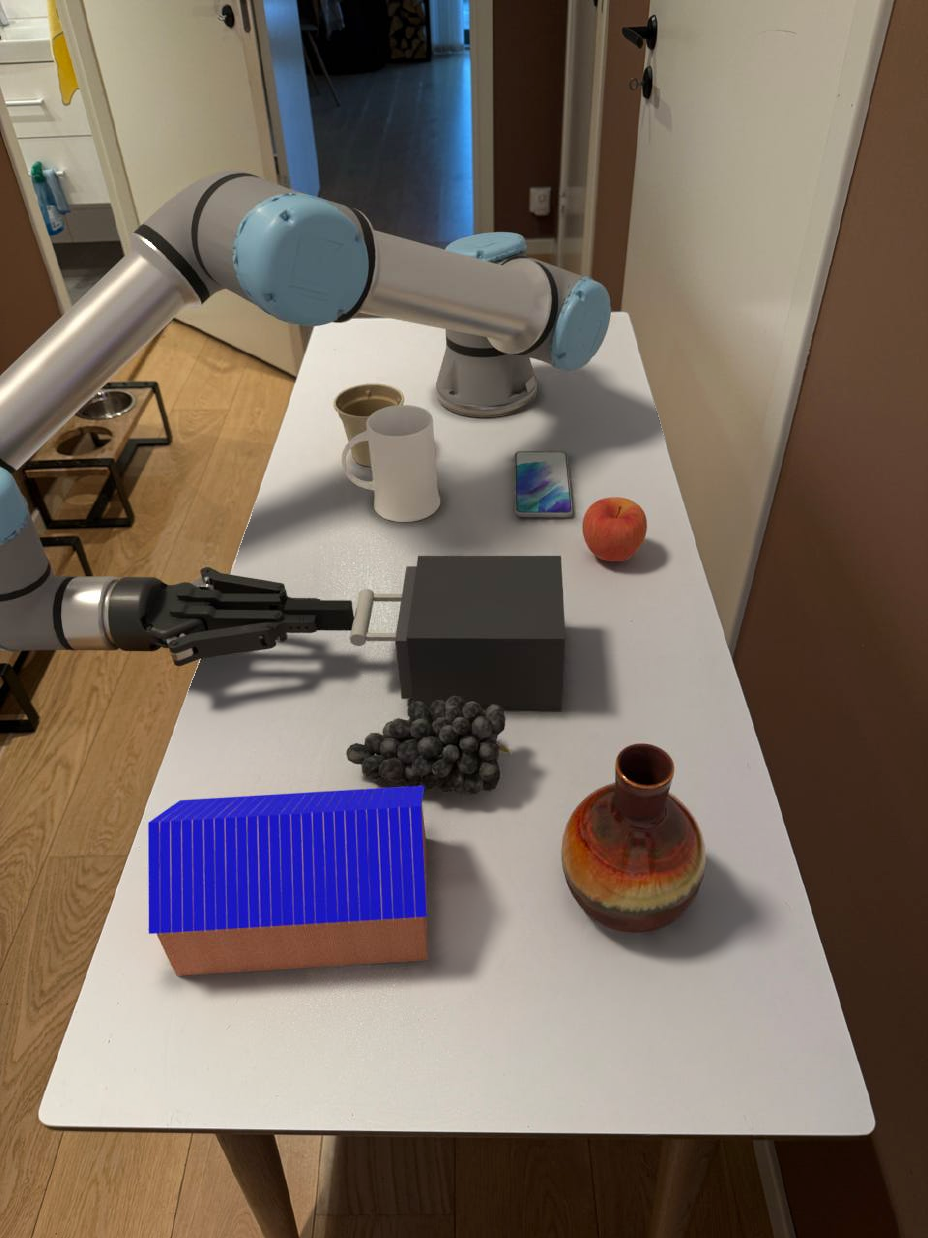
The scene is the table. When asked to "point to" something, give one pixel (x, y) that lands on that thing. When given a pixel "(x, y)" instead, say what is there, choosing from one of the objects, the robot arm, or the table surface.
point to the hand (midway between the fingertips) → (351, 615)
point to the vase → (634, 846)
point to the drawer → (361, 633)
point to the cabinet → (488, 631)
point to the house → (290, 880)
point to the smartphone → (542, 484)
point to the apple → (614, 528)
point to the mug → (400, 463)
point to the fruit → (437, 747)
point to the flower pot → (363, 412)
